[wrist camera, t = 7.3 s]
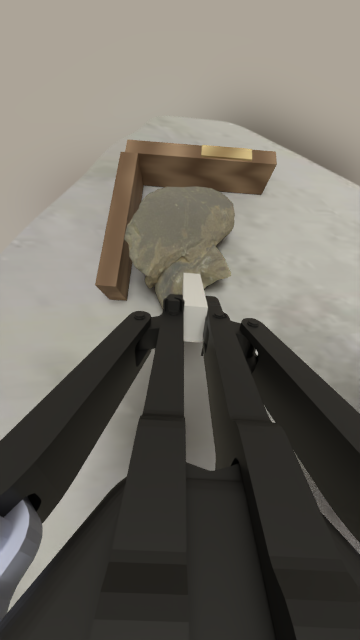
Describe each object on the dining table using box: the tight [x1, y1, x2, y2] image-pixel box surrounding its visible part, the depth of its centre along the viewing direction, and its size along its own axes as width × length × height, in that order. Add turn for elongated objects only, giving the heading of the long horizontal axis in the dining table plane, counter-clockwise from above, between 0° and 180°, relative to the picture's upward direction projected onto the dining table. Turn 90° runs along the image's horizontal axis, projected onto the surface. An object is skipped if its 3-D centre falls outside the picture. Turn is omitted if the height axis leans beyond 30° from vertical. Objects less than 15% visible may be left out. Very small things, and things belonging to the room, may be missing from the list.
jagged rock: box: [124, 186, 235, 308], centre depth 19 cm, size 14×10×10 cm
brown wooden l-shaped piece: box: [95, 140, 277, 301], centre depth 22 cm, size 18×19×4 cm
